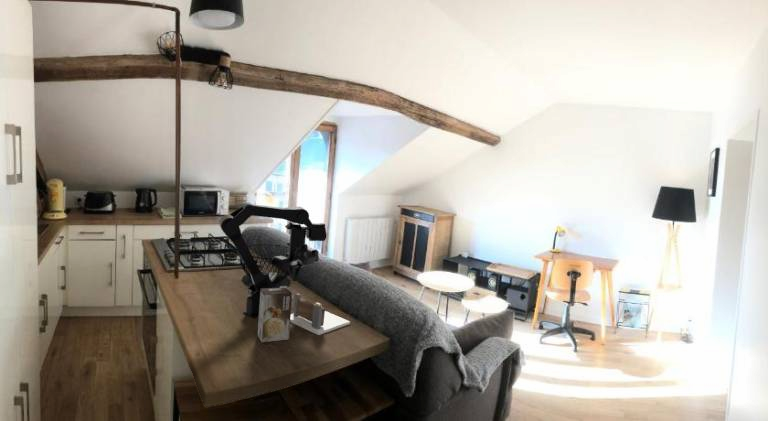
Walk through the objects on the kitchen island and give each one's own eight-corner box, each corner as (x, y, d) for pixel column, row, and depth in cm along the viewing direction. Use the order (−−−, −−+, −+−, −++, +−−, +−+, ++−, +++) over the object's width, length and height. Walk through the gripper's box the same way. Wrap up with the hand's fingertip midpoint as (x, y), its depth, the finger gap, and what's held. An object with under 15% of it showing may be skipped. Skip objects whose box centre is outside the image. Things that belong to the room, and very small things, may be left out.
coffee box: (284, 332, 156) (287, 286, 153) (289, 340, 150) (293, 293, 148) (256, 334, 151) (260, 288, 149) (260, 342, 146) (264, 294, 143)
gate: (319, 326, 160) (321, 309, 159) (297, 315, 167) (298, 299, 166) (323, 325, 161) (325, 308, 160) (300, 314, 168) (302, 298, 168)
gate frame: (318, 335, 156) (321, 307, 155) (283, 318, 167) (286, 292, 165) (349, 324, 169) (352, 298, 167) (315, 309, 179) (318, 285, 178)
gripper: (292, 248, 159) (289, 291, 161) (330, 242, 174) (326, 282, 176) (272, 241, 165) (268, 283, 168) (310, 236, 180) (306, 275, 182)
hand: (294, 281), depth 173 cm, fingers closed
